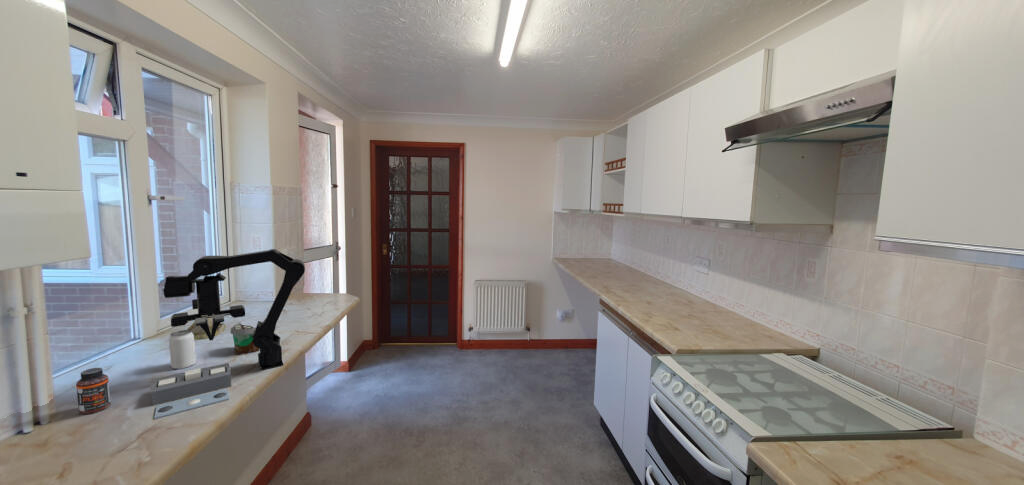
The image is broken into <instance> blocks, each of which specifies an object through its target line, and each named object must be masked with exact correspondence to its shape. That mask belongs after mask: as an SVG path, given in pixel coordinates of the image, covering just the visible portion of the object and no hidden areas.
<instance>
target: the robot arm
mask: <svg viewBox="0 0 1024 485" xmlns="http://www.w3.org/2000/svg"><path fill="white" fill-rule="evenodd" d="M269 262H270V263H273V264H275V265H276V266H277V267H279V268H280V269H281V270H283V271H284V277H283V281H282V283H281V286H280V288H279V290H278V292H277V294H276V296H275V298H274V300H273V303H272V304H271V306H270V308H269V310H268V313H267V315H266V317H265V318H264V319H263V321H259V320H258V321H257V323H256V329H255V330H254V331H253V334H252V337H253V341H252V343H253V344H254V346H255V347H257V348H259V352H258V353H257V361H258V362H257V363H258V366H259V367H260V368H261V370H263V371H264V370H267V369H271V368H272V369H273V368H276V367H280V366H283V365H284V362H283V354H282V352H283V350H282V345H281V344H280V343H281V337H280V336H279V335H278V334H276V333H275V332H276V331H275V330H276V326H277V323H278V320H279V318H280V316H281V314H282V312H283V310H284V308H285V305H286V303H287V302H288V299H289V297H290V295H291V293H292V291H293V289H294V288H295V286H296V285H297V283H299V281H300V279H301V278H302V276H304V274H305V271H306V265H305V262H304V261H302V260H300V259H297V258H296V259H294V258H292V257H290V256H289V255H287V254H285V253H283V252H281V251H280V250H277V248H270V249H268V250H260V251H254V252H249V253H241V254H237V255H236V254H234V255H205V256H202V257H200V258H198V259H197V260H196V261H195V262H194V263H193V264H192V271H191V272H189V273H188V274H187V275H177V276H175V275H168V276H166V277H165V282H164V284H163V285H164V287H163V295H164V298H165V299H171V298H182V297H183V298H185V297H191V295H192V294H194V293H195V291H196V299H192V300H191V303H192V304H191V305H192V310H197V313H192V314H189V313H188V312H189V311H187V312H186V311H185V312H178V313H173V314H171V316H170V317H171V318H170V327H173V328H175V327H182V326H186V324H188V323H189V321H190V322H191V321H194V322H195V321H196V326H201V328H202V329H203V330H204V331H205V333H206V334H207V336H208V338H207V339H208V340H209V341H211V342H212V341H214V338H215V337H216V336H215V333H216V331H217V328H218V326H219V325H220V323H225V316H231V317H232V318H234V319H235V318H241V317H242V318H243V317H246V308H245V306H244V305H242V304H239V305H232V306H229V309H224V310H222V309H221V300H220V299H221V298H220V297H221V296H220V282H223V281H225V280H226V278H227V277H226V276H225V275H223V274H222V273H221V272H223V271H226V270H228V269H233V268H239V267H246V266H250V265H252V266H253V265H256V264H257V265H258V264H263V263H269ZM214 274H216V275H214ZM201 277H203V278H201ZM212 314H214V315H212ZM205 315H207V316H205ZM207 318H213V322H212V332H210V328H209V324H208V320H207Z"/></svg>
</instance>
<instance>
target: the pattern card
mask: <svg viewBox="0 0 1024 485" xmlns="http://www.w3.org/2000/svg"><path fill="white" fill-rule="evenodd" d="M229 400H230V395H229V388H223V389H219V390H215V391H211V392H207V393H203V394H199V395H195V396H191V397H187V398H182V399H178V400H174V401H173V402H172V401H170V402H166V403H162V404H160V405H159V404H158V405H157V406H156V408H155V413H154V416H153V419H154V420H156V419H160V418H164V417H168V416H172V415H176V414H180V413H183V412H188V411H191V410H195V409H199V408H202V407H206V406H210V405H214V404H217V403H222V402H225V401H229Z"/></svg>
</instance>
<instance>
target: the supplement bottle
mask: <svg viewBox="0 0 1024 485" xmlns="http://www.w3.org/2000/svg"><path fill="white" fill-rule="evenodd" d="M75 385H76V387H75V388H76V397H77V398H76V399H77V408H78V412H79V414H81V415H89V414H95V413H98V412H100V411H103V410H105V409H107V408H108V407H110V405H111V402H112V401H111V392H110V391H111V390H110V383H109V375H107V374H105V373H103V368H102V367H93V368H89V369H86V370H83V371H81V372H80V379H79V380H78V381H76V384H75Z"/></svg>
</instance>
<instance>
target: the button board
mask: <svg viewBox="0 0 1024 485" xmlns="http://www.w3.org/2000/svg"><path fill="white" fill-rule="evenodd" d="M221 367H225V372H223V373H219V374H214V375H211V370H212V369H216V368H221ZM231 373H232V372H231V369H230V363H229V362H226V363H222V364H217V365H213V366H207V367H203V368H201V378H196V379H192V380H187V381H185V371H184V372H179V373H178V372H177V373H174V374H170V375H164V376H162V377H156V378H154V380H153V384H152V389H151V392H150V393H151V402H152V404H151V405H152V406H156V405H157V406H158V405H159V404H160V405H162V404H166V403H170V402H172V401H173V402H174V401H178V400H182V399H186V398H190V397H194V396H198V395H203V394H207V393H211V392H215V391H219V390H223V389H227V388H229V387H232V374H231ZM174 377H175V379H176V383H174V384H169V385H165V386H160V387H158V384H159V381H160V380H165V379H170V378H174Z"/></svg>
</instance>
